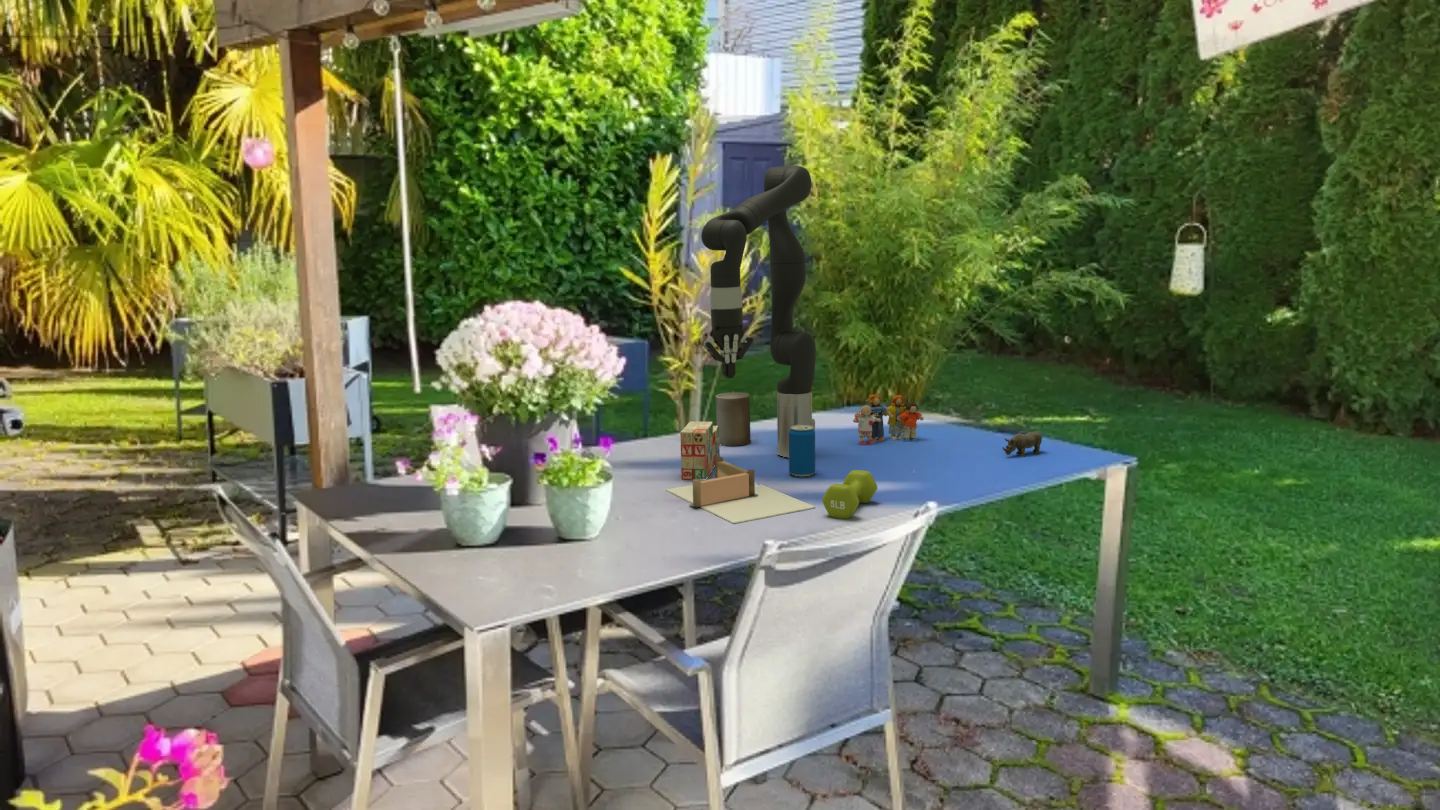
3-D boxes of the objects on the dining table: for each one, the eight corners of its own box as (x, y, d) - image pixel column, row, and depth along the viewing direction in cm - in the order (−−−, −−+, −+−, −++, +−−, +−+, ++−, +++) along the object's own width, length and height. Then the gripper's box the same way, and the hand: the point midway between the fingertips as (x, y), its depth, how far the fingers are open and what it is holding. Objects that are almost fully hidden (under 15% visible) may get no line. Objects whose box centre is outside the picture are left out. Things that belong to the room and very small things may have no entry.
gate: (749, 496, 234) (749, 471, 233) (695, 507, 227) (695, 481, 226) (745, 494, 236) (744, 470, 235) (691, 505, 228) (691, 479, 227)
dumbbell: (854, 522, 216) (855, 489, 215) (819, 517, 220) (819, 485, 218) (879, 501, 230) (879, 470, 229) (845, 498, 234) (846, 467, 233)
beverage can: (818, 472, 256) (818, 425, 254) (809, 478, 250) (809, 430, 248) (794, 470, 259) (794, 423, 257) (785, 476, 253) (784, 428, 251)
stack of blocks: (696, 459, 273) (695, 413, 270) (720, 459, 272) (719, 414, 269) (681, 480, 252) (679, 431, 250) (706, 481, 251) (705, 431, 249)
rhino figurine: (995, 457, 269) (996, 434, 268) (1034, 450, 276) (1035, 428, 274) (1007, 460, 266) (1007, 437, 265) (1045, 453, 272) (1046, 431, 271)
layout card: (742, 477, 252) (742, 476, 252) (815, 508, 226) (815, 506, 226) (660, 491, 241) (660, 490, 241) (726, 525, 215) (726, 523, 215)
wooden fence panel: (720, 480, 249) (720, 456, 248) (756, 495, 235) (756, 470, 234) (714, 481, 248) (713, 457, 247) (749, 496, 235) (749, 471, 233)
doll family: (854, 446, 284) (854, 399, 281) (842, 438, 293) (842, 393, 290) (925, 440, 289) (926, 394, 286) (911, 433, 298) (912, 389, 295)
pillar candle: (757, 441, 292) (756, 389, 289) (739, 447, 284) (738, 394, 281) (728, 438, 297) (726, 386, 294) (709, 444, 289) (708, 392, 286)
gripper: (744, 302, 249) (746, 372, 252) (694, 306, 243) (697, 378, 247) (758, 304, 242) (760, 377, 245) (707, 309, 236) (710, 383, 240)
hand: (729, 377), depth 246 cm, fingers closed
